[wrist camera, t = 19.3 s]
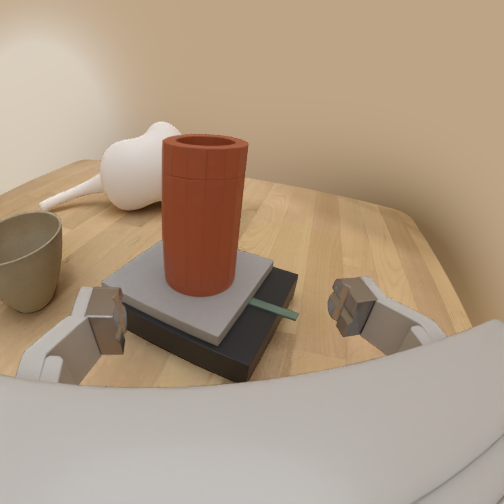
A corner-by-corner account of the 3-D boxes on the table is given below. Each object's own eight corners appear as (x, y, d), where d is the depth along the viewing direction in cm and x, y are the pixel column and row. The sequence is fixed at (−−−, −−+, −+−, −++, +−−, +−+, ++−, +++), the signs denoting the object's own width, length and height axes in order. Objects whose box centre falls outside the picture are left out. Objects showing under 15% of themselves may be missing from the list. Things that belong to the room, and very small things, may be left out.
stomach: (146, 194, 60) (47, 241, 44) (131, 136, 55) (25, 173, 39) (221, 191, 46) (85, 260, 30) (203, 110, 41) (50, 150, 25)
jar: (213, 306, 21) (223, 152, 16) (151, 281, 23) (145, 141, 17) (245, 268, 26) (260, 141, 20) (189, 250, 28) (193, 131, 22)
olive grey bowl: (-17, 299, 21) (-39, 240, 17) (48, 259, 29) (36, 203, 25) (15, 349, 17) (-18, 280, 14) (94, 294, 25) (80, 227, 22)
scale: (265, 394, 19) (273, 364, 17) (101, 314, 23) (93, 282, 22) (307, 299, 29) (316, 270, 27) (175, 254, 33) (174, 227, 31)
